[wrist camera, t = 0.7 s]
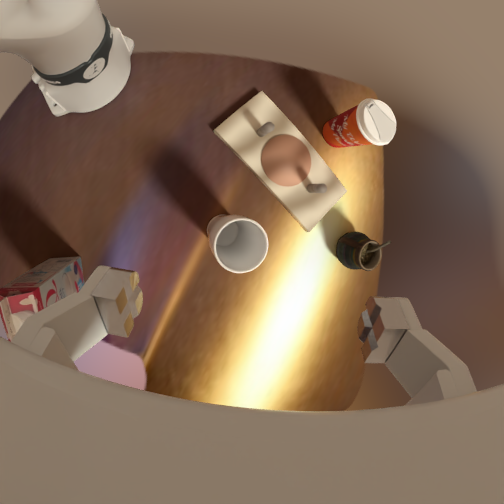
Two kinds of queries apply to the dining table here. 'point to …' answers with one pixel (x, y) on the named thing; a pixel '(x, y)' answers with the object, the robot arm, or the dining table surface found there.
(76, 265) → the juice carton
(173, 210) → the dining table surface
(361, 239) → the mate gourd
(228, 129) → the pin board
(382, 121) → the paper cup
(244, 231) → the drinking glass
